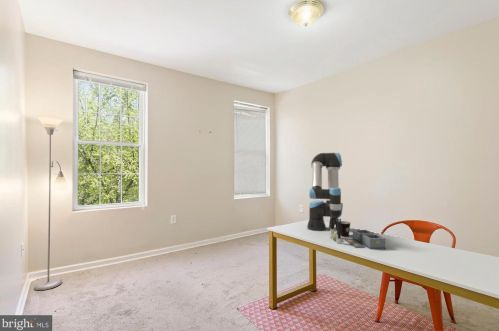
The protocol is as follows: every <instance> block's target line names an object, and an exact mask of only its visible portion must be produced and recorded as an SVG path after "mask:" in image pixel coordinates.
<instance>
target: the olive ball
mask: <svg viewBox="0 0 499 331" xmlns="http://www.w3.org/2000/svg"><path fill="white" fill-rule="evenodd" d="M336 233H337V232H336ZM336 233H335V232H334V234H333V235H332V238H331V239H332V241H336V242H337V234H336Z"/></svg>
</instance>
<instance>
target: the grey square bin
mask: <svg viewBox="0 0 499 331" xmlns="http://www.w3.org/2000/svg"><path fill="white" fill-rule="evenodd" d="M367 234H375V233H373V232H372V231H370V230H368V229H353V230H352V239H354V240H355V241H357V242H359V243H360V244H362V235H367Z"/></svg>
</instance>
